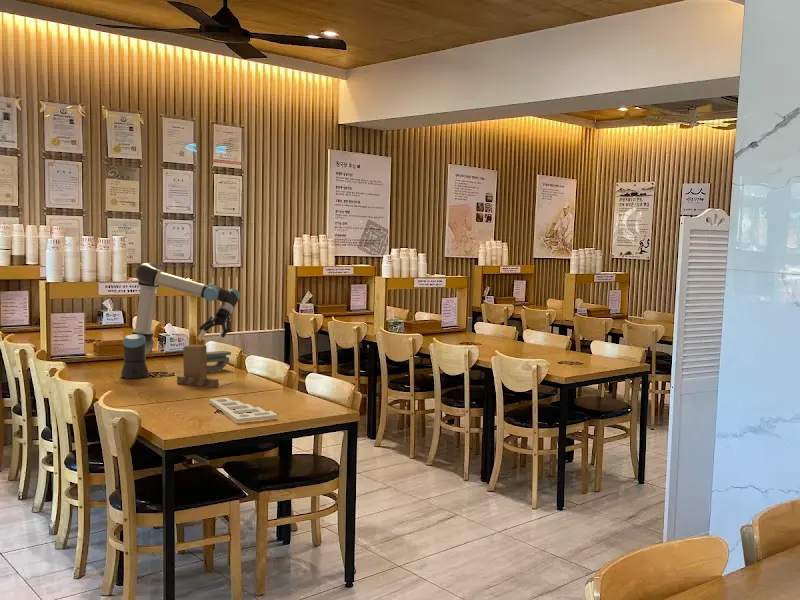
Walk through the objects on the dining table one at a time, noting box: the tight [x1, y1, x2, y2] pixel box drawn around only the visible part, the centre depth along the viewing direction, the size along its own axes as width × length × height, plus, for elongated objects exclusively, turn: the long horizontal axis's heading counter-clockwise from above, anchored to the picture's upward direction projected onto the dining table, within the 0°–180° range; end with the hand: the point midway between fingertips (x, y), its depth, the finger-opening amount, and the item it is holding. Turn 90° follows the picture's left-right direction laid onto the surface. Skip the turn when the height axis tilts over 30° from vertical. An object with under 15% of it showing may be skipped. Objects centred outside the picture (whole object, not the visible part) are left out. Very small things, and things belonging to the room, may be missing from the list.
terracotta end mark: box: [219, 380, 234, 387], centre depth 401 cm, size 13×12×1 cm
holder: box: [209, 397, 278, 422], centre depth 336 cm, size 45×18×3 cm, turn 29°
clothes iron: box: [207, 350, 232, 373], centre depth 440 cm, size 25×8×11 cm, turn 128°
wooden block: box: [183, 344, 208, 378], centre depth 406 cm, size 10×10×20 cm
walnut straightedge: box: [176, 375, 220, 388], centre depth 396 cm, size 25×3×4 cm, turn 67°
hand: (208, 340), depth 415 cm, fingers open, 13 cm apart
